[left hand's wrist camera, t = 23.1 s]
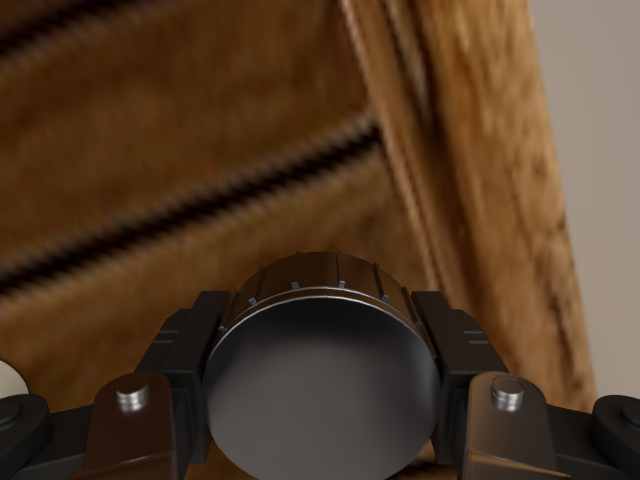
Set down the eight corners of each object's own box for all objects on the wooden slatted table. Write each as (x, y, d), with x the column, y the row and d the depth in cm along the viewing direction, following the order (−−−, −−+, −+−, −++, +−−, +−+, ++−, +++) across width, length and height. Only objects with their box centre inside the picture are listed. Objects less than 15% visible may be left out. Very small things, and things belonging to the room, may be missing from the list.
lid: (228, 231, 10) (205, 273, 8) (445, 264, 10) (477, 312, 8) (211, 409, 12) (188, 481, 10) (398, 433, 12) (414, 509, 10)
